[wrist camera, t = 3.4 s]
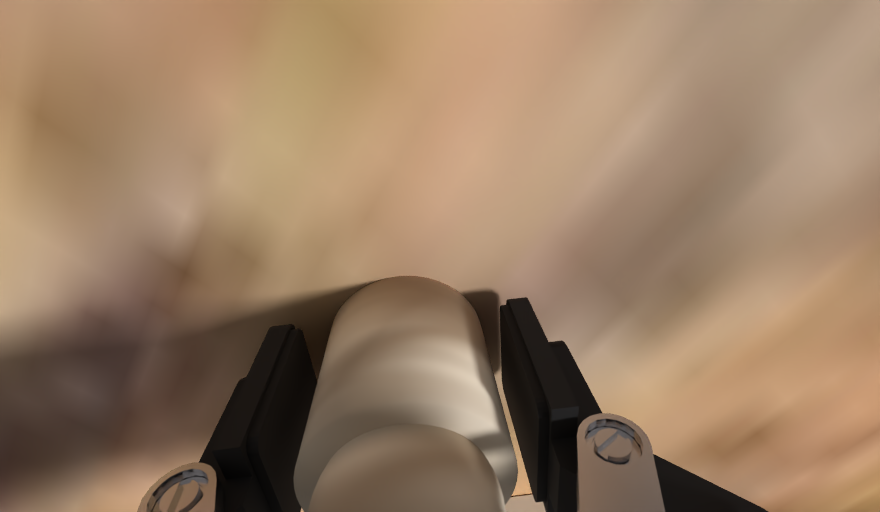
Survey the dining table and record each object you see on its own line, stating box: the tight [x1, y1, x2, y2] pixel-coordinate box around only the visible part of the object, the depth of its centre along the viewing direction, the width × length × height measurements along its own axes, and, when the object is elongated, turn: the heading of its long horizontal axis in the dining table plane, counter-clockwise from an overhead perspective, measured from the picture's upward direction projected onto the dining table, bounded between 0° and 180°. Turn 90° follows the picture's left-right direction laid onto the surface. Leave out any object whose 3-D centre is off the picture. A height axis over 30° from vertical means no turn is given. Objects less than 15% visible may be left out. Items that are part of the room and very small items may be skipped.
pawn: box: [293, 276, 518, 512], centre depth 9 cm, size 4×4×7 cm
